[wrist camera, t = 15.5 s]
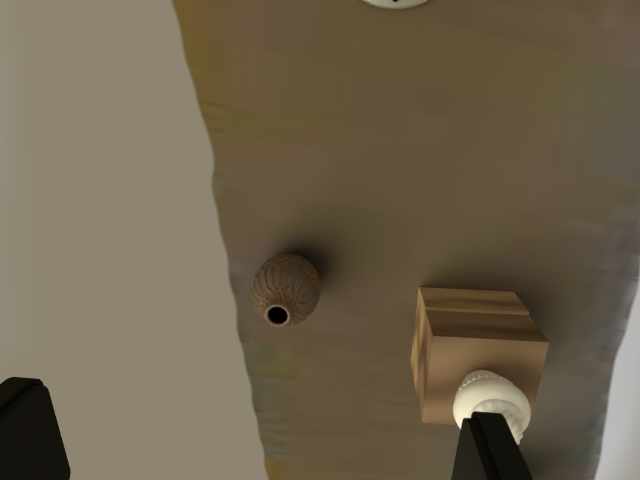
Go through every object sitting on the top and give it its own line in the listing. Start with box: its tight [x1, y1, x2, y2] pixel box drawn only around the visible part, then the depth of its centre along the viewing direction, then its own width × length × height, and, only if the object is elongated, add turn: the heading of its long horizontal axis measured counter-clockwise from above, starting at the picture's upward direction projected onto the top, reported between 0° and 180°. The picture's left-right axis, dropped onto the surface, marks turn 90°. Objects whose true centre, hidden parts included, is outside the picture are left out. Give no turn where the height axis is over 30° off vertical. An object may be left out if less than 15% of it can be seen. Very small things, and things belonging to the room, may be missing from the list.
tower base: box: [411, 287, 530, 387], centre depth 44 cm, size 10×10×4 cm
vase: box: [252, 254, 320, 327], centre depth 41 cm, size 7×7×9 cm
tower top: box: [416, 310, 550, 430], centre depth 40 cm, size 10×10×4 cm
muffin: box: [453, 370, 531, 445], centre depth 34 cm, size 6×6×7 cm
